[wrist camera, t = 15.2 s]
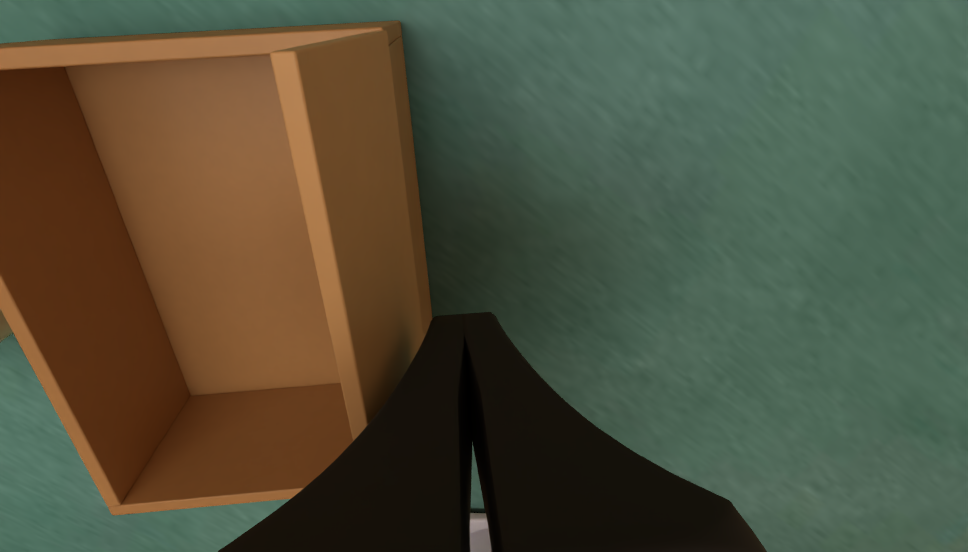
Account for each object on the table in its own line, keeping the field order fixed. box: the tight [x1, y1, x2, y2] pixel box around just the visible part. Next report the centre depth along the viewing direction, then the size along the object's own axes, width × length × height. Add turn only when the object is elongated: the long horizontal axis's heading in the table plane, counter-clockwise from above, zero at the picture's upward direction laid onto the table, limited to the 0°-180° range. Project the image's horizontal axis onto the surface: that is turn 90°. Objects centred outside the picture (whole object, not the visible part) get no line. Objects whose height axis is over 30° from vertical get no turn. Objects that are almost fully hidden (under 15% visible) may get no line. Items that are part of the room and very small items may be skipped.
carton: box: [0, 21, 433, 515], centre depth 16 cm, size 10×13×5 cm
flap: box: [270, 31, 424, 441], centre depth 11 cm, size 5×13×1 cm
